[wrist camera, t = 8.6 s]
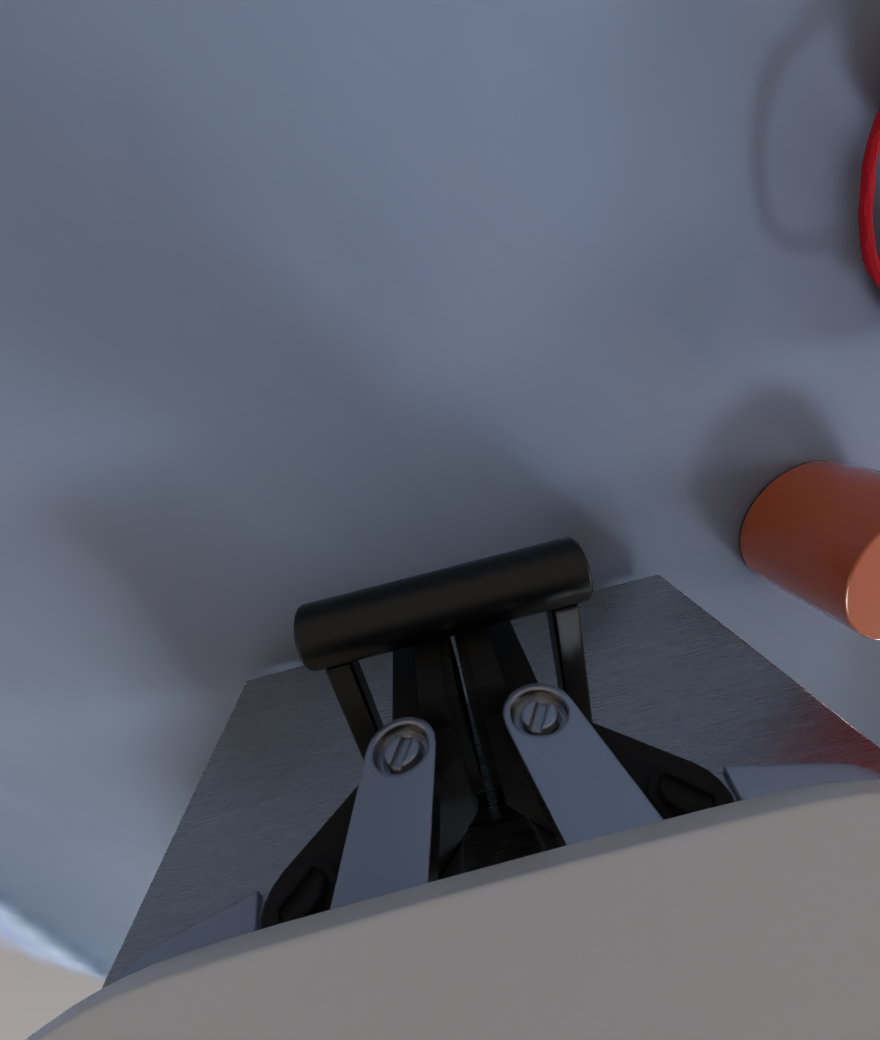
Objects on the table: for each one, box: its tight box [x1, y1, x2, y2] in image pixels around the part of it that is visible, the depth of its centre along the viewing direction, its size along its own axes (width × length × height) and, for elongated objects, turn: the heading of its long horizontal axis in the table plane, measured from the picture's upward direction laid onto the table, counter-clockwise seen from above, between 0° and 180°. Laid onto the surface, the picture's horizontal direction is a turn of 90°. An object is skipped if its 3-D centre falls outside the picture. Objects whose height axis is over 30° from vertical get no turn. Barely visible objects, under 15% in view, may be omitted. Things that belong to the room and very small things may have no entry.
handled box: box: [102, 537, 880, 989], centre depth 13 cm, size 19×15×8 cm
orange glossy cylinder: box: [740, 460, 880, 641], centre depth 14 cm, size 5×5×4 cm
